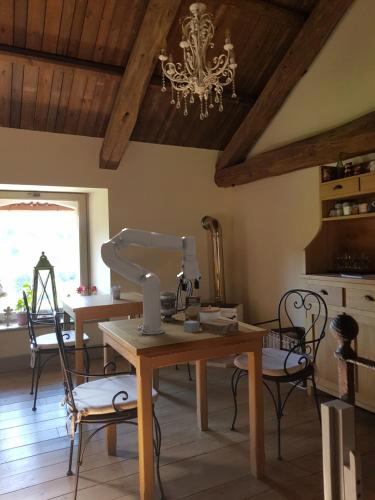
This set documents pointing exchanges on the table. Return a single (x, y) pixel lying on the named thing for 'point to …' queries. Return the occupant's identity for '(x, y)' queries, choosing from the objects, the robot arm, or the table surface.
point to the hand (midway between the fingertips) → (190, 289)
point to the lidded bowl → (209, 313)
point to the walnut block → (220, 326)
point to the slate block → (191, 326)
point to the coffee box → (192, 308)
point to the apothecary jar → (168, 305)
